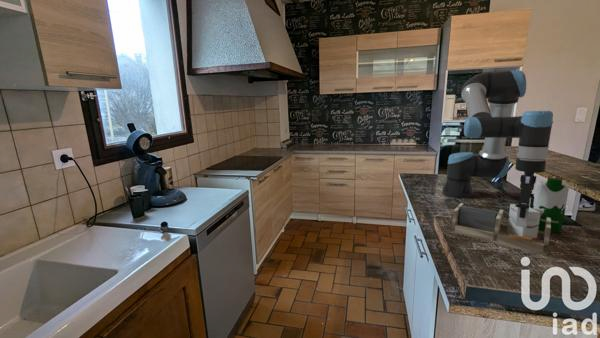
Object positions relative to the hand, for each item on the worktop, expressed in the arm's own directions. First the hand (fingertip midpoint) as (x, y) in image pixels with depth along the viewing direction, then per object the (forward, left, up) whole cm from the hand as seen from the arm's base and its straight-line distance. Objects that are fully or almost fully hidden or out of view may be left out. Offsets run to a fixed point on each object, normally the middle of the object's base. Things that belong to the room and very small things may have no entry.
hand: (522, 220), depth 93 cm
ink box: (0, 0, -7) cm, 7 cm away
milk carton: (-21, +7, -8) cm, 23 cm away
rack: (0, -6, -8) cm, 10 cm away
